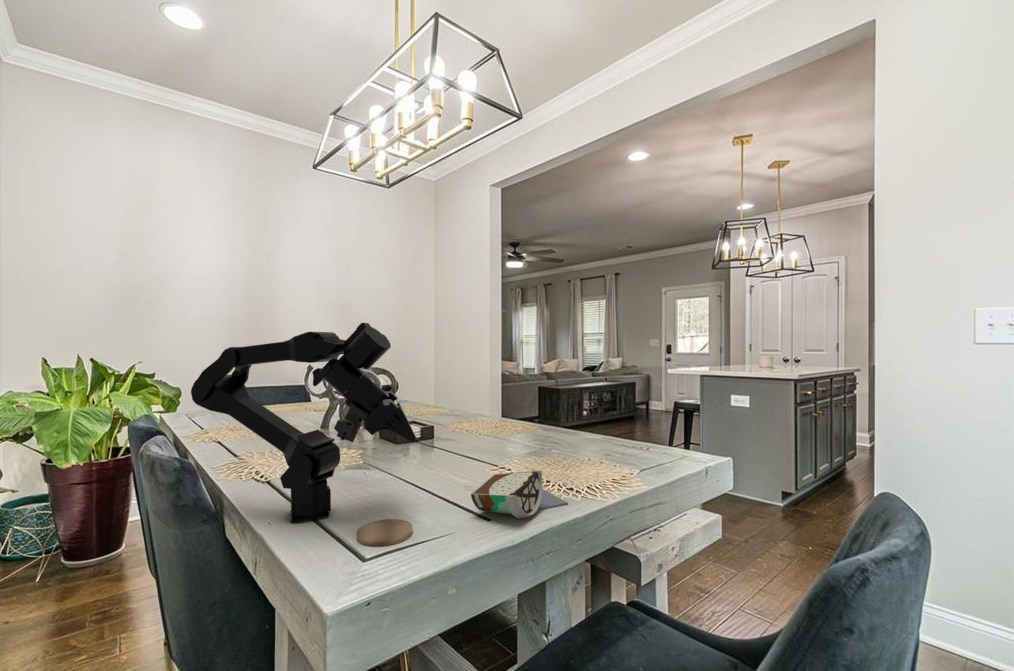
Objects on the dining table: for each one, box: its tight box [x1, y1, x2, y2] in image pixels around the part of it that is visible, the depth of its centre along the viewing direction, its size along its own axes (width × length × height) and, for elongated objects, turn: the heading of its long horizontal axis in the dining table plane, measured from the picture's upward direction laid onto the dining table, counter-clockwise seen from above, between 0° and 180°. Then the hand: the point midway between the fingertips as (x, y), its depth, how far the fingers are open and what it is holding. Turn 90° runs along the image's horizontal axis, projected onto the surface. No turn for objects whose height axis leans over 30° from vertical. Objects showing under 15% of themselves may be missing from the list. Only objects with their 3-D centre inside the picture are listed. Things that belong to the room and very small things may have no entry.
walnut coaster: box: [356, 518, 413, 547], centre depth 79 cm, size 9×9×1 cm
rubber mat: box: [504, 488, 569, 517], centre depth 95 cm, size 13×13×1 cm
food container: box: [470, 469, 544, 519], centre depth 88 cm, size 12×6×10 cm
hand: (414, 440), depth 90 cm, fingers closed
